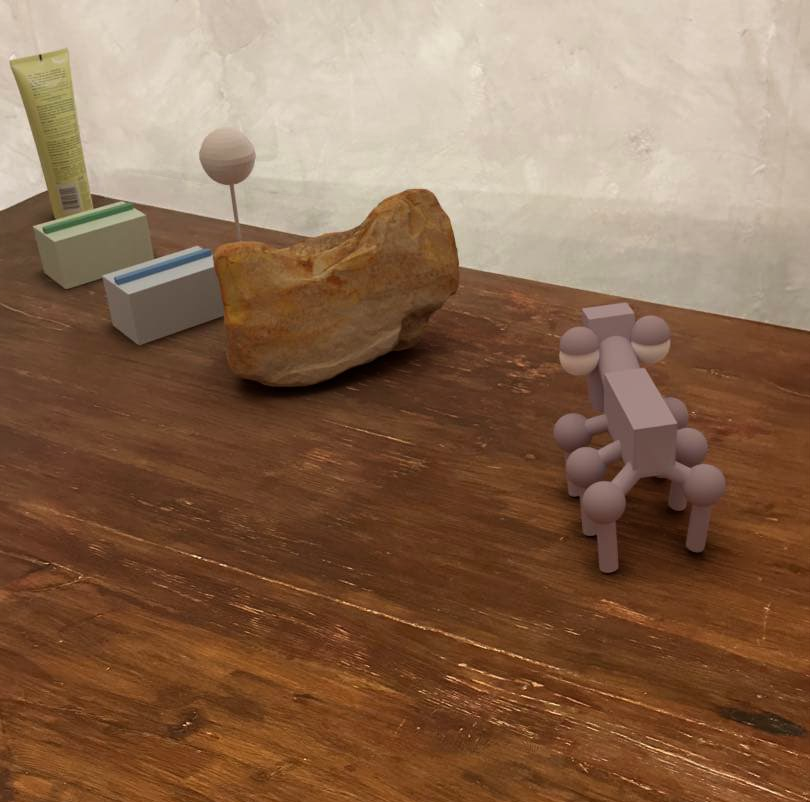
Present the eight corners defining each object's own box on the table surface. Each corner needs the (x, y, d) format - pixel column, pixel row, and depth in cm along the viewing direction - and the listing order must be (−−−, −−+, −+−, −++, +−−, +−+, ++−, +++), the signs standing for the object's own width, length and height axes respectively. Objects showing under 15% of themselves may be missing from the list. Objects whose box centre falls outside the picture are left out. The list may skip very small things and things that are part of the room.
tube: (64, 208, 145) (26, 47, 133) (102, 207, 144) (67, 46, 132) (49, 225, 140) (8, 60, 128) (88, 224, 140) (51, 59, 128)
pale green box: (65, 289, 124) (52, 236, 121) (44, 273, 128) (31, 220, 125) (155, 261, 130) (145, 209, 126) (131, 246, 133) (121, 195, 130)
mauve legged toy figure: (526, 434, 96) (530, 286, 88) (648, 422, 97) (663, 274, 89) (581, 580, 80) (592, 416, 72) (726, 565, 81) (753, 400, 73)
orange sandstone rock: (414, 297, 121) (399, 155, 112) (479, 351, 107) (467, 194, 99) (204, 350, 115) (171, 204, 107) (245, 413, 101) (212, 252, 93)
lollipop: (279, 257, 129) (263, 124, 120) (248, 276, 125) (229, 140, 116) (236, 248, 132) (217, 117, 123) (205, 267, 128) (183, 133, 119)
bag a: (139, 346, 113) (126, 288, 109) (112, 325, 117) (100, 269, 113) (233, 312, 118) (225, 256, 114) (205, 294, 122) (196, 239, 118)
